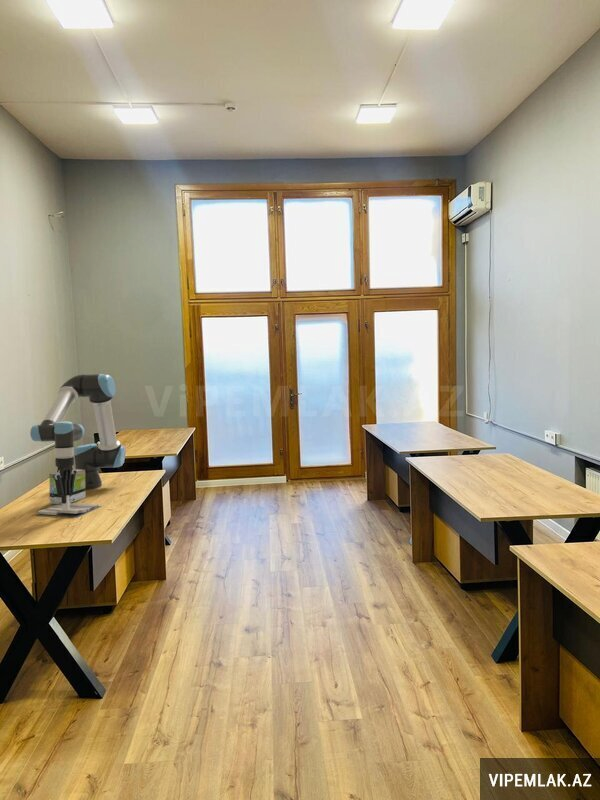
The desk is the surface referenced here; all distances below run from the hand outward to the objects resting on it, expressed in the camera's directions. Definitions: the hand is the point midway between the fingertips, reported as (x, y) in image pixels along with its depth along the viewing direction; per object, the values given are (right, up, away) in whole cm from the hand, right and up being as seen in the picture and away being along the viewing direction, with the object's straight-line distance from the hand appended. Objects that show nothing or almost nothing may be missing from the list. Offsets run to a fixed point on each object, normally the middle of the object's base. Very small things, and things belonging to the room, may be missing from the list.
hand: (66, 510), depth 234 cm
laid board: (-2, -2, +13) cm, 14 cm away
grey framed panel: (-3, -3, +10) cm, 11 cm away
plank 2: (+1, -2, +4) cm, 4 cm away
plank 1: (-9, -2, +6) cm, 11 cm away
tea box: (-11, -1, +28) cm, 30 cm away
